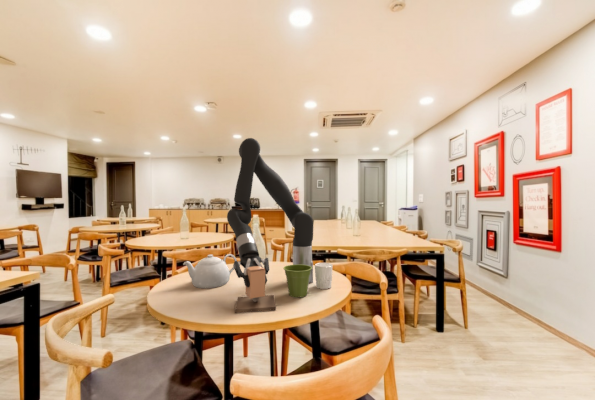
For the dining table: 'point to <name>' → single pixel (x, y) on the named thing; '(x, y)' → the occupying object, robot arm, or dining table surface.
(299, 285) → the plant pot
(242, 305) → the plate
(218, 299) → the dining table surface
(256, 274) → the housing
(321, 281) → the white cup
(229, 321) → the dining table surface
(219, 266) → the teapot
